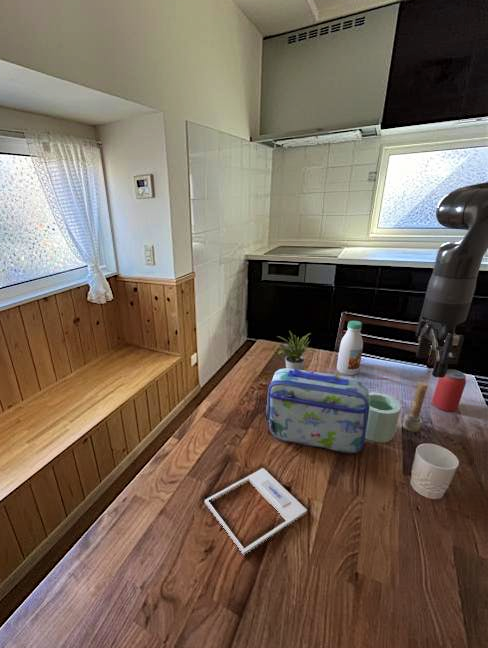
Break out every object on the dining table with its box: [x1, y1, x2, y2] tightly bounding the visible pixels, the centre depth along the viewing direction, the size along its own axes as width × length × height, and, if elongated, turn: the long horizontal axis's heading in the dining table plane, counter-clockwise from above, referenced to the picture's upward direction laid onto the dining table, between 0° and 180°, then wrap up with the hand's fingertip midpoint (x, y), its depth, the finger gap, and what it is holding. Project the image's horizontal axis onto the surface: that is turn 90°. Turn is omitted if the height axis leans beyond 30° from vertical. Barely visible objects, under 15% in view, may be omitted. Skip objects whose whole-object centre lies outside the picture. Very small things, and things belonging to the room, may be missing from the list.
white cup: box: [409, 442, 460, 500], centre depth 78 cm, size 8×8×10 cm
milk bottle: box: [336, 320, 364, 376], centre depth 125 cm, size 8×8×20 cm
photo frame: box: [204, 467, 308, 557], centre depth 77 cm, size 15×1×18 cm
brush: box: [402, 381, 429, 433], centre depth 96 cm, size 4×4×15 cm
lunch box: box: [265, 367, 370, 454], centre depth 93 cm, size 26×11×21 cm, turn 65°
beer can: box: [431, 368, 467, 412], centre depth 104 cm, size 7×7×12 cm
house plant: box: [274, 330, 312, 370], centre depth 127 cm, size 14×14×16 cm
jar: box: [365, 391, 402, 443], centre depth 96 cm, size 10×10×10 cm
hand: (429, 366), depth 74 cm, fingers open, 8 cm apart
